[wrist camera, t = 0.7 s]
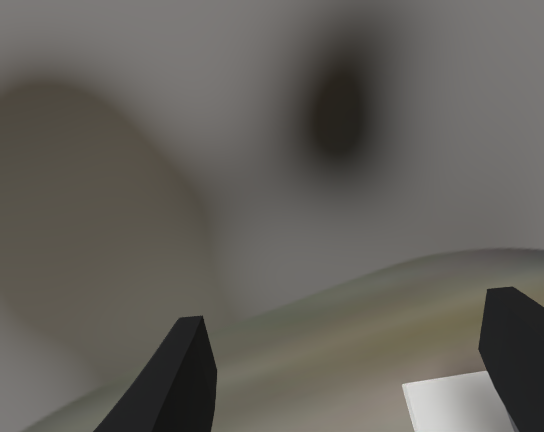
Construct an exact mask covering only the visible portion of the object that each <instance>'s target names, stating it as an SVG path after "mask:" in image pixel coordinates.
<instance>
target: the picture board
mask: <svg viewBox="0 0 544 432" xmlns="http://www.w3.org/2000/svg"><path fill="white" fill-rule="evenodd" d="M402 387H403V391H404V395H405V398H406V402H407V406H408V409H409V413H410V417H411V420H412V424H413V428H414V431H415V432H519V430H518V429H517V427H516V425H515V423H514V422H513V420H512V418H511V416H510V415H509V413H508V411H507V409H506V408H505V406H504V404H503V402H502V400H501V399H500V397H499V395H498V393H497V391H496V390H495V388H494V385H493V383H492V381H491V379H490V376H489V374H488V372H487V371H481V372H475V373H469V374H462V375H456V376H450V377H444V378H437V379H431V380H425V381H418V382H412V383H406V384H403V385H402Z"/></svg>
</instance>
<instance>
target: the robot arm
mask: <svg viewBox="0 0 544 432" xmlns="http://www.w3.org/2000/svg"><path fill="white" fill-rule="evenodd" d="M478 349H479V352H480V354H481V357H482V359H483V362H484V364H485V367H486V369H487V372H488V374H489V376H490V379H491V381H492V383H493V385H494V388H495V390H496V391H497V393H498V395H499V397H500V399H501V400H502V402H503V404H504V406H505V408H506V409H507V411H508V413H509V415H510V416H511V418H512V420H513V422H514V423H515V425H516V427H517V429H518V430H519V432H544V307H543V306H541V305H540V304H538V303H537V302H535V301H534V300H532V299H531V298H529V297H528V296H526V295H525V294H523V293H522V292H520V291H519V290H517V289H516V288H514V287H503V288H492V289H487V294H486V301H485V307H484V314H483V321H482V327H481V334H480V341H479V348H478ZM216 384H217V368H216V364H215V361H214V357H213V353H212V349H211V345H210V342H209V338H208V334H207V330H206V327H205V323H204V319H203V316H194V317H182V318H179V319H178V320H177V321H176V323H175V324H174V326H173V327H172V329H171V330H170V332H169V333H168V335H167V336H166V337H165V339H164V340H163V342H162V343H161V345H160V346H159V348H158V349H157V351H156V352H155V354H154V355H153V356H152V358H151V359H150V360H149V362H148V363H147V365H146V366H145V367H144V369H143V370H142V371H141V373H140V374H139V375H138V377H137V378H136V380H135V381H134V382H133V384H132V385H131V386H130V388H129V389H128V390H127V391H126V393H125V394H124V395H123V396H122V398H121V399H120V400H119V401H118V403H117V404H116V405H115V406H114V407H113V409H112V410H111V411H110V412H109V414H108V415H107V416H106V417H105V419H104V420H103V421H102V422H101V423H100V424H99V426H98V427H97V428H96V429H95V430H94V431H93V432H211V427H212V422H213V416H214V410H215V399H216Z"/></svg>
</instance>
